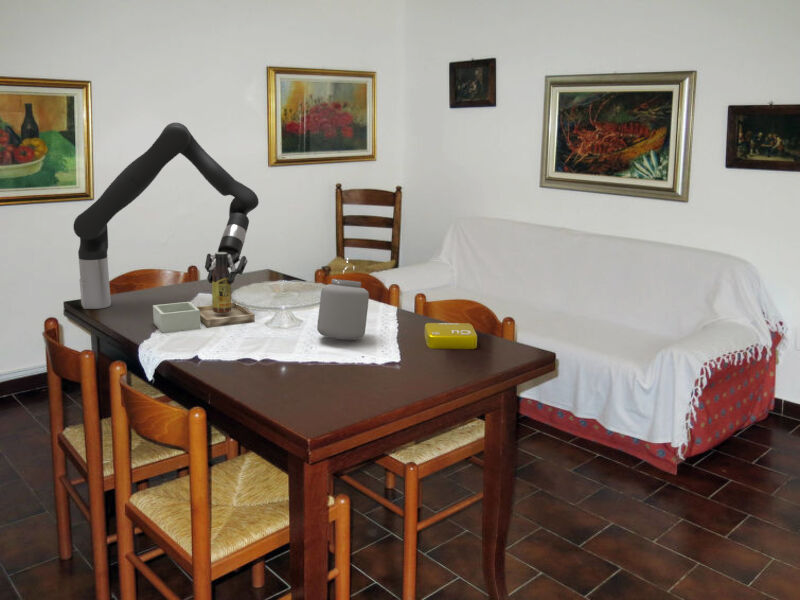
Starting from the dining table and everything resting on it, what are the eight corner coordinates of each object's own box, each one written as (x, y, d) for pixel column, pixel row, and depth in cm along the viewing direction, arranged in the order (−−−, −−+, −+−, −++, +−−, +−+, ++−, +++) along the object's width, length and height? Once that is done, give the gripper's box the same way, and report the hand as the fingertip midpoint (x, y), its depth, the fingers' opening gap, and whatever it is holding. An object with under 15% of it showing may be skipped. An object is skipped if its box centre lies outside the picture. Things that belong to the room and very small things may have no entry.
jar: (338, 327, 248) (339, 251, 242) (379, 333, 242) (380, 256, 236) (308, 342, 232) (307, 261, 226) (350, 349, 226) (351, 267, 220)
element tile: (470, 335, 244) (471, 321, 243) (477, 350, 230) (478, 335, 228) (423, 335, 243) (424, 321, 242) (428, 350, 229) (428, 334, 228)
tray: (206, 327, 245) (206, 320, 244) (192, 314, 260) (191, 307, 259) (254, 321, 252) (254, 314, 252) (237, 309, 267) (237, 302, 267)
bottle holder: (162, 332, 238) (161, 314, 236) (153, 323, 248) (152, 305, 246) (200, 328, 244) (199, 310, 242) (190, 319, 254) (190, 301, 252)
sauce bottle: (220, 314, 251) (218, 255, 246) (208, 311, 255) (206, 253, 250) (236, 311, 256) (234, 252, 251) (224, 307, 260) (221, 250, 255)
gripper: (209, 233, 258) (195, 275, 250) (249, 235, 255) (236, 277, 247) (216, 246, 264) (202, 287, 256) (255, 248, 262) (243, 290, 253)
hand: (219, 282), depth 252 cm, fingers closed on sauce bottle, 6 cm apart
